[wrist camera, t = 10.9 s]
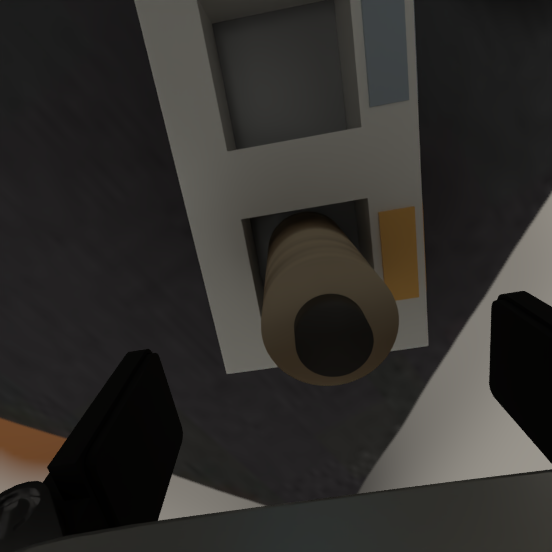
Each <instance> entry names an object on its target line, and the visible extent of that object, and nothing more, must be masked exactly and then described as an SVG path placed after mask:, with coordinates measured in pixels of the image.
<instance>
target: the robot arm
mask: <svg viewBox="0 0 552 552" xmlns="http://www.w3.org/2000/svg"><path fill="white" fill-rule="evenodd" d="M489 385H490V390H491V392H492V394H493V396H494V397H495V399H496V400H497V401H498V402H499V403H500V404H501V406H502V407H503V408H504V409H505V410H506V411H507V413H508V414H509V415H510V416H511V417H512V418H513V419H514V421H515V422H516V423H517V424H518V425H519V426H520V427H521V429H522V430H523V431H524V432H525V433H526V434H527V436H528V437H529V438H530V439H531V440H532V441H533V443H534V444H535V445H536V446H537V447H538V448H539V449H540V451H541V452H542V453H543V454H544V455H545V456H546V457H547V459H548V460H549V461H550V462H551V463H552V307H551V306H549V305H548V304H546V303H544V302H542V301H541V300H539V299H538V298H536V297H534V296H532V295H531V294H529V293H527V292H525V291H520V292H513V293H507V294H501V295H499V296H498V299H497V300H496V301H494V302H493V303H492V308H491V342H490V376H489ZM182 438H183V431H182V426H181V423H180V420H179V417H178V414H177V411H176V407H175V404H174V401H173V398H172V395H171V392H170V389H169V386H168V383H167V379H166V376H165V373H164V370H163V367H162V364H161V361H160V358H159V355H158V354H157V353H152V352H151V350H149V349H146V350H139V351H133V352H128V353H127V354H126V355H125V357H124V358H123V360H122V361H121V362H120V364H119V365H118V367H117V368H116V370H115V371H114V372H113V374H112V375H111V377H110V378H109V380H108V381H107V382H106V384H105V385H104V387H103V388H102V390H101V391H100V392H99V394H98V395H97V397H96V398H95V400H94V401H93V402H92V404H91V405H90V407H89V408H88V410H87V411H86V412H85V414H84V415H83V417H82V418H81V420H80V421H79V422H78V424H77V425H76V427H75V428H74V430H73V431H72V432H71V434H70V435H69V437H68V438H67V440H66V441H65V442H64V444H63V445H62V447H61V448H60V450H59V451H58V452H57V454H56V455H55V457H54V458H53V460H52V461H51V463H50V464H49V465H48V467H47V468H48V470H49V472H50V473H49V474H48V476H47V477H46V479H45V480H44V481H43V483H42V482H39V481H31V482H26V483H22V484H19V485H16V486H14V487H12V488H10V489H8V490H6V491H4V492H2V493H1V494H0V552H552V469H551V470H543V471H535V472H527V473H519V474H511V475H503V476H495V477H486V478H478V479H470V480H462V481H454V482H446V483H438V484H430V485H423V486H415V487H407V488H400V489H392V490H384V491H376V492H369V493H361V494H353V495H345V496H338V497H330V498H323V499H315V500H307V501H300V502H292V503H285V504H278V505H270V506H263V507H256V508H248V509H242V510H234V511H226V512H219V513H212V514H205V515H197V516H190V517H182V518H175V519H168V520H160V521H158V518H159V514H160V511H161V508H162V504H163V502H164V498H165V495H166V492H167V488H168V485H169V482H170V479H171V476H172V472H173V469H174V466H175V463H176V459H177V456H178V453H179V450H180V446H181V443H182Z"/></svg>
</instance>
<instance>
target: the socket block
mask: <svg viewBox="0 0 552 552" xmlns="http://www.w3.org/2000/svg"><path fill="white" fill-rule="evenodd" d="M134 1H135V5H136V9H137V13H138V17H139V21H140V25H141V29H142V34H143V38H144V42H145V46H146V50H147V54H148V58H149V62H150V66H151V70H152V74H153V78H154V82H155V86H156V90H157V94H158V98H159V102H160V106H161V110H162V114H163V118H164V122H165V126H166V130H167V134H168V138H169V143H170V147H171V151H172V155H173V159H174V163H175V167H176V171H177V175H178V179H179V183H180V187H181V191H182V195H183V199H184V203H185V207H186V211H187V215H188V219H189V223H190V227H191V231H192V235H193V239H194V243H195V248H196V252H197V256H198V260H199V264H200V268H201V272H202V276H203V280H204V284H205V288H206V292H207V296H208V300H209V304H210V308H211V312H212V316H213V320H214V324H215V328H216V332H217V336H218V340H219V344H220V348H221V353H222V357H223V361H224V365H225V369H226V373H227V374H231V373H238V372H245V371H253V370H260V369H267V368H274V367H278V366H277V365H276V364H275V363H274V361H273V360H272V359H271V357H270V356H269V354H268V353H267V350H266V348H265V346H264V343H263V339H262V334H261V316H262V306H263V296H264V286H265V276H266V266H267V256H268V246H269V241H270V237H271V235H272V233H273V231H274V230H275V228H276V227H277V226H278V224H279V223H280V222H281V221H283V220H284V219H285V218H287V217H289V216H290V215H293V214H295V213H299V212H306V211H308V212H317V213H320V214H323V215H325V216H327V217H329V218H330V219H332V220H333V221H334V222H335V223H336V224H337V225H338V226H339V227H340V229H341V230H342V231H343V232H344V234H345V235H346V236H347V237H348V238H349V240H350V241H351V242H352V243H353V245H354V246H355V247H356V248H357V250H358V251H359V252H360V253H361V254H362V256H363V257H364V258H365V259H366V261H367V262H368V263H369V264H370V266H371V267H372V268H373V269H374V270H375V272H376V273H377V274H378V275H379V277H380V278H381V279H382V280H383V282H384V283H385V284H386V285H387V287H388V288H389V290H390V291H391V293H392V295H393V297H394V299H395V301H396V304H397V308H398V314H399V327H398V334H397V337H396V340H395V343H394V345H393V347H392V349H391V351H395V350H403V349H410V348H417V347H424V346H428V324H427V301H426V291H427V290H426V267H425V244H424V220H423V203H422V186H421V163H420V140H419V117H418V81H417V58H416V35H415V12H414V0H134Z"/></svg>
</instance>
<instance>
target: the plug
mask: <svg viewBox="0 0 552 552" xmlns="http://www.w3.org/2000/svg"><path fill="white" fill-rule="evenodd" d="M398 327H399V314H398V308H397V304H396V301H395V299H394V297H393V295H392V293H391V291H390V290H389V288H388V287H387V285H386V284H385V283H384V282H383V280H382V279H381V278H380V277H379V275H378V274H377V273H376V272H375V270H374V269H373V268H372V267H371V266H370V264H369V263H368V262H367V261H366V259H365V258H364V257H363V256H362V254H361V253H360V252H359V251H358V250H357V248H356V247H355V246H354V245H353V243H352V242H351V241H350V240H349V238H348V237H347V236H346V235H345V234H344V232H343V231H342V230H341V229H340V227H339V226H338V225H337V224H336V223H335V222H334V221H333V220H332V219H330V218H329V217H327V216H325V215H323V214H320V213H317V212H308V211H306V212H299V213H295V214H293V215H290V216H289V217H287V218H285V219H284V220H283V221H281V222H280V223H279V224H278V226H277V227H276V228H275V230H274V231H273V233H272V235H271V237H270V241H269V246H268V256H267V266H266V276H265V286H264V296H263V306H262V316H261V334H262V339H263V343H264V346H265V348H266V350H267V353H268V354H269V356H270V357H271V359H272V360H273V361H274V363H275V364H276V365H277V366H278V367H279V368H280V369H281V370H282V371H284V372H285V373H287V374H288V375H289V376H291V377H293V378H295V379H297V380H300V381H302V382H305V383H309V384H313V385H320V386H332V385H340V384H345V383H349V382H352V381H355V380H357V379H359V378H362V377H363V376H365V375H367V374H369V373H370V372H371V371H373V370H374V369H375V368H377V367H378V366H379V365H380V364H381V363H382V362H383V361H384V359H385V358H386V357H387V356H388V354H389V352H390V351H391V349H392V347H393V345H394V343H395V340H396V337H397V334H398Z"/></svg>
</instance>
